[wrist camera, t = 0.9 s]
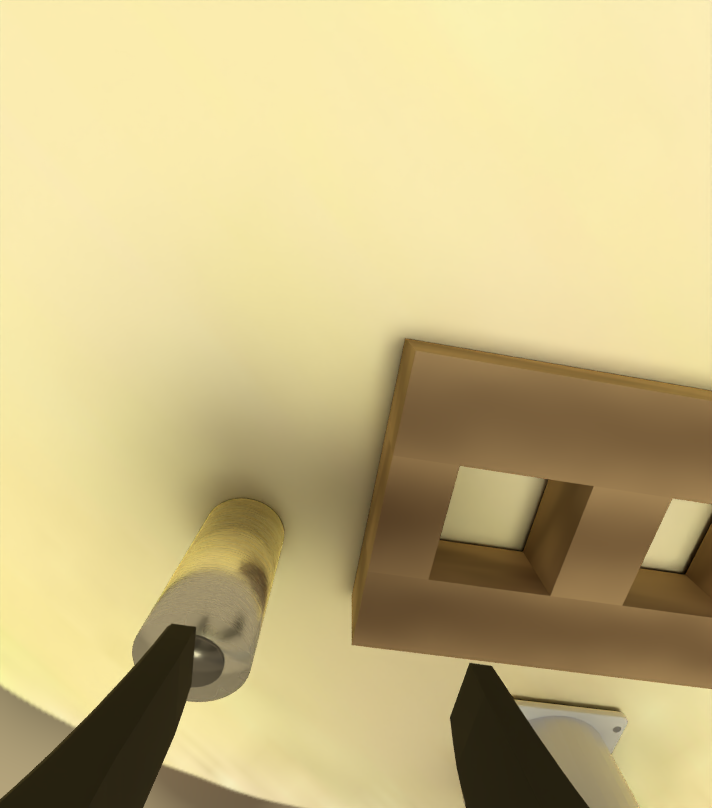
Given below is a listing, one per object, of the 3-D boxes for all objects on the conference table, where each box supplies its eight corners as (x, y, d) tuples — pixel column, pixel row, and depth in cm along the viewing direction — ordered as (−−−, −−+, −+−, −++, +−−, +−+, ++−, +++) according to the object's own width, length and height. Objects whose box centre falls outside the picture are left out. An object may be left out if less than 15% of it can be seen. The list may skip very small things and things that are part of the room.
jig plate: (698, 640, 23) (749, 693, 20) (351, 595, 21) (351, 644, 19) (827, 410, 19) (914, 435, 16) (405, 338, 17) (416, 350, 14)
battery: (279, 570, 21) (245, 712, 14) (202, 560, 21) (129, 699, 14) (288, 504, 20) (255, 624, 13) (207, 492, 20) (129, 608, 13)
